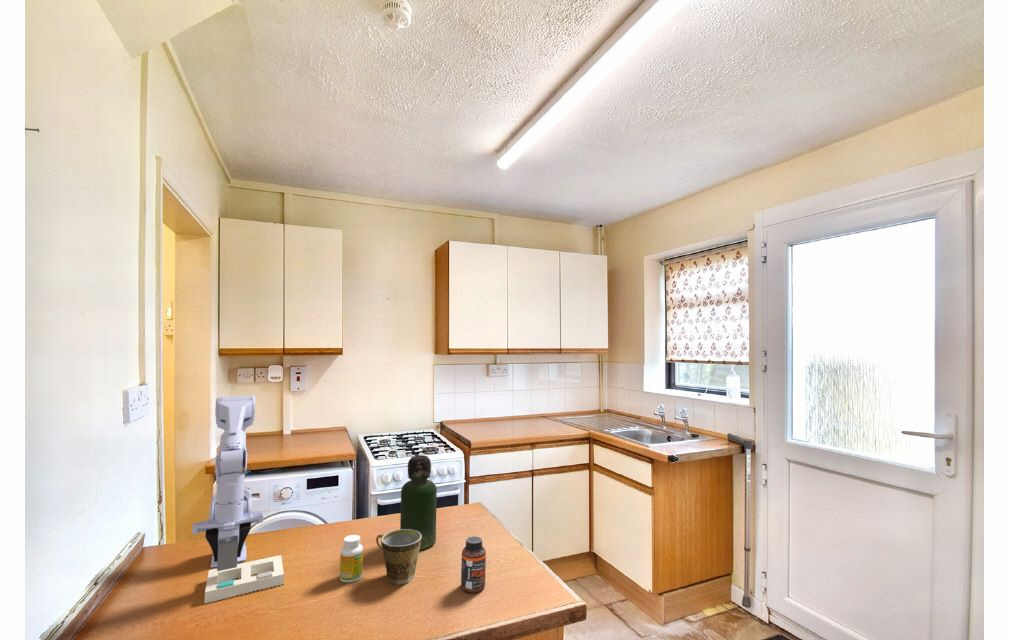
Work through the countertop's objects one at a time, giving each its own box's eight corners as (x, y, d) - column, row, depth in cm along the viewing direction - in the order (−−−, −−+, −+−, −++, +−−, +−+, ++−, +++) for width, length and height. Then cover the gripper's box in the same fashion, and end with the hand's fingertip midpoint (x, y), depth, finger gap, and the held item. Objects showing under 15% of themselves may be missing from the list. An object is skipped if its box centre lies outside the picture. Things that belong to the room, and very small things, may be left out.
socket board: (208, 580, 109) (208, 568, 109) (280, 564, 117) (281, 553, 117) (204, 603, 99) (205, 590, 99) (283, 584, 107) (283, 572, 107)
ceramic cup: (428, 572, 113) (429, 533, 114) (404, 592, 104) (405, 549, 105) (388, 561, 119) (389, 524, 119) (362, 579, 110) (363, 538, 110)
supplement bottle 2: (472, 597, 103) (473, 547, 103) (455, 587, 107) (456, 539, 107) (490, 586, 107) (491, 539, 108) (473, 577, 111) (474, 532, 112)
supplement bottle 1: (355, 584, 108) (356, 543, 108) (335, 581, 109) (336, 541, 109) (366, 573, 113) (367, 534, 113) (347, 570, 114) (348, 532, 114)
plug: (218, 564, 107) (219, 537, 107) (237, 560, 109) (238, 534, 109) (217, 571, 103) (218, 544, 104) (236, 567, 105) (237, 540, 106)
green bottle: (394, 541, 131) (396, 456, 132) (426, 532, 137) (427, 451, 138) (408, 555, 123) (410, 464, 124) (442, 545, 129) (443, 458, 130)
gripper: (191, 511, 100) (189, 572, 99) (264, 500, 107) (262, 557, 106) (195, 501, 106) (192, 559, 105) (263, 491, 113) (261, 545, 113)
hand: (227, 557), depth 106 cm, fingers closed on plug, 4 cm apart
